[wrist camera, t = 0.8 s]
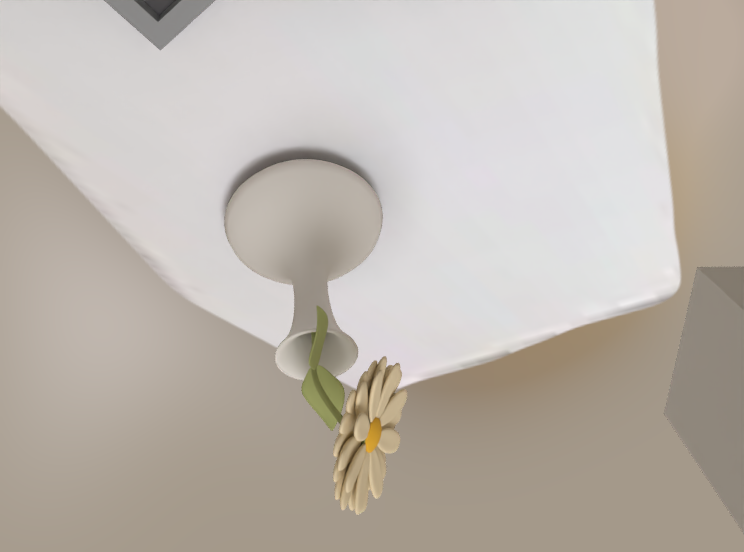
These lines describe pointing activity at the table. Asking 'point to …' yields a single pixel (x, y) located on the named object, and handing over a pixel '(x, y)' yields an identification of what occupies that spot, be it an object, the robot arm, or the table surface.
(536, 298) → the table surface
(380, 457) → the flower in vase
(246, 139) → the table surface
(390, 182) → the table surface
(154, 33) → the grey square frame
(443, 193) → the table surface
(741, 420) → the robot arm
